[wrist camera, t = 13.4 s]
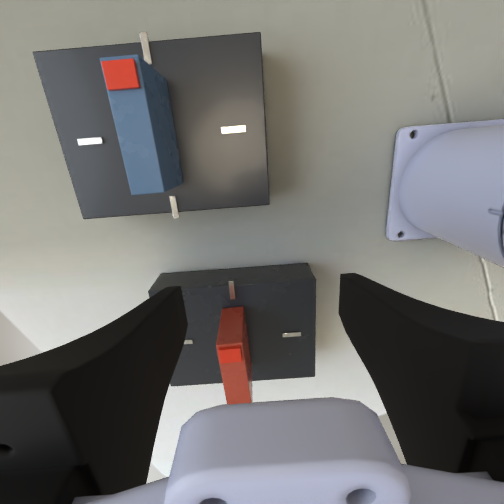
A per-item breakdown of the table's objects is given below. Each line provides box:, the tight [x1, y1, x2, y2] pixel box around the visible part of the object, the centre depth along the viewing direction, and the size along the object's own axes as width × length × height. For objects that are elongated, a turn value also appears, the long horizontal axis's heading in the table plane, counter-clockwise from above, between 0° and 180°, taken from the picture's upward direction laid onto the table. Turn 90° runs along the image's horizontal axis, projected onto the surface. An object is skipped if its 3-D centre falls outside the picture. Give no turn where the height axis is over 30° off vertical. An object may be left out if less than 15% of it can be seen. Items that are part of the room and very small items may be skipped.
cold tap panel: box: [33, 32, 270, 219], centre depth 17 cm, size 12×10×3 cm
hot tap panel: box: [148, 263, 316, 386], centre depth 22 cm, size 12×10×3 cm
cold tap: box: [100, 54, 183, 195], centre depth 13 cm, size 6×2×4 cm, turn 5°
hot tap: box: [216, 306, 252, 404], centre depth 19 cm, size 6×2×4 cm, turn 6°
